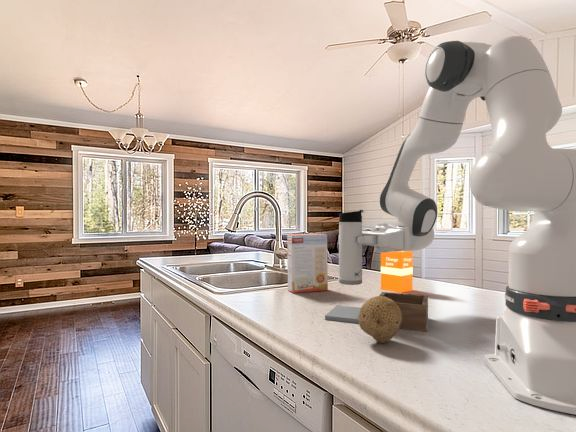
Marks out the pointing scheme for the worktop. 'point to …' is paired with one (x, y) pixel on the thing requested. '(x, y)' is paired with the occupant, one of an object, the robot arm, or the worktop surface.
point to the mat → (344, 314)
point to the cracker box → (307, 262)
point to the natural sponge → (380, 318)
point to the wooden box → (411, 310)
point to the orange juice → (397, 271)
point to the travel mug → (350, 248)
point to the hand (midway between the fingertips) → (348, 239)
